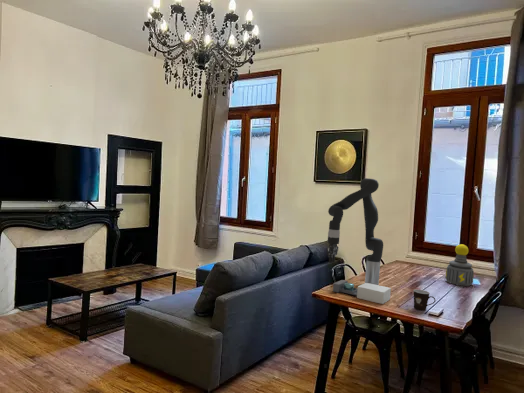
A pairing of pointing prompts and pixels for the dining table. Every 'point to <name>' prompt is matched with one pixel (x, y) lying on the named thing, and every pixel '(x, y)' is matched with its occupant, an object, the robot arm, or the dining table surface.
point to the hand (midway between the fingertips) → (331, 262)
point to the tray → (340, 287)
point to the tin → (349, 286)
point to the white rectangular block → (374, 293)
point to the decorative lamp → (460, 268)
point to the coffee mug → (421, 299)
